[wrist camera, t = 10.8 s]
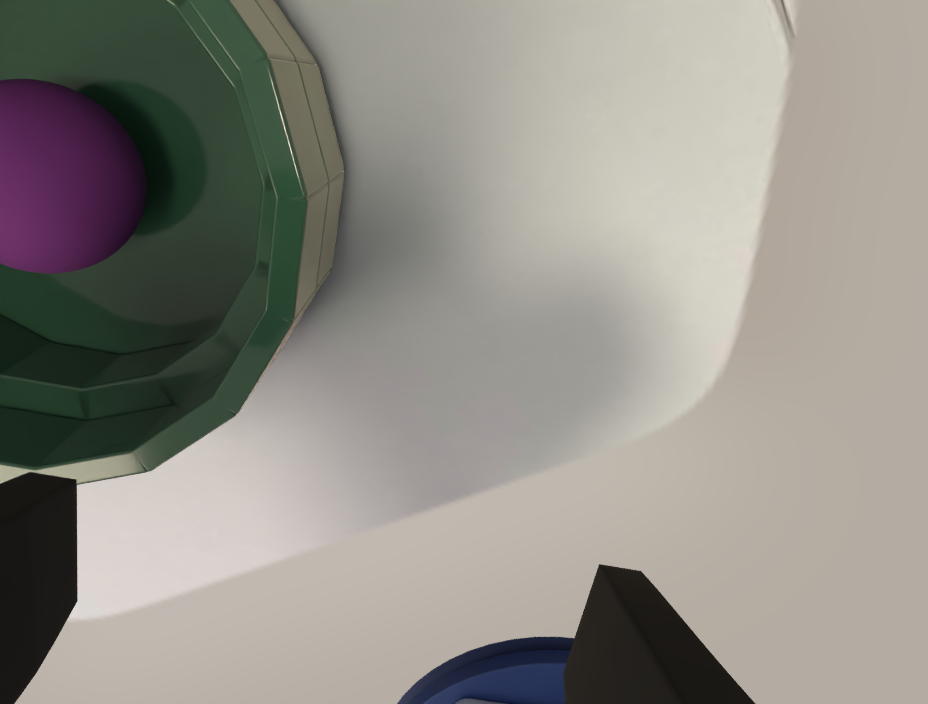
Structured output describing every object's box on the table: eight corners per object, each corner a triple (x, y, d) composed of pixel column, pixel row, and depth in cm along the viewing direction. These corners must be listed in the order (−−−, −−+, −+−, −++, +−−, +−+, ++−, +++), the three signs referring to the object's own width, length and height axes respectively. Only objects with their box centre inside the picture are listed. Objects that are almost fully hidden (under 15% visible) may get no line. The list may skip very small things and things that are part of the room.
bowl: (314, 424, 20) (269, 529, 15) (-130, 347, 19) (-326, 434, 14) (379, -52, 15) (344, -113, 11) (-195, -184, 14) (-510, -314, 10)
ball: (168, 264, 17) (97, 311, 14) (2, 235, 17) (-118, 276, 13) (177, 99, 16) (100, 102, 12) (-4, 62, 15) (-141, 54, 12)
